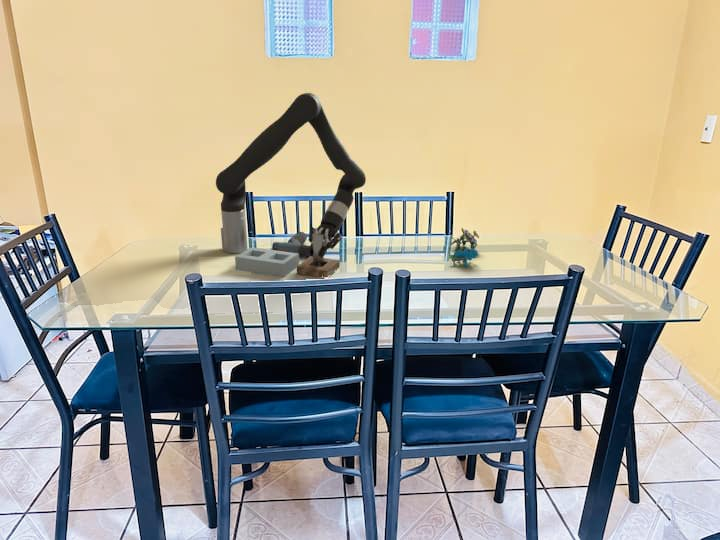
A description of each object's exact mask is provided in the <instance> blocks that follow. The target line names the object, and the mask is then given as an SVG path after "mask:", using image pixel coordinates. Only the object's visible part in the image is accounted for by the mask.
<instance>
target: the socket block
mask: <svg viewBox="0 0 720 540" xmlns="http://www.w3.org/2000/svg"><path fill="white" fill-rule="evenodd" d="M340 263H341V261H340V260H339V259H332V258H326V257H324V266H323V267H320V266H313V257H312V256H308V258H306V259H305V260H304V261H302V262H301V263H299V265H298V266H297V268H296V275H301V276H306V277H312V278H318V277H322V276H323V277H328V276H329V275H331V274H332V273H333V272H334V271H335V270H337V269H338V268H339V267H341V265H340ZM339 269H340V268H339ZM339 269H338V270H339ZM338 270H337V271H338ZM334 273H335V272H334ZM334 273H333V274H334ZM333 274H332V275H333ZM332 275H331V276H332Z"/></svg>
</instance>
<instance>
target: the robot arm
mask: <svg viewBox="0 0 720 540" xmlns="http://www.w3.org/2000/svg"><path fill="white" fill-rule="evenodd" d="M307 123H309V124H310V126H311V127H312V128H313V131H314V132H315V133H316V135H317V137H318V139H319V141H320V144H321V145H322V149H323V150H324V152H325V155H326V157H327V158H328V159H329V161H330V162H331V164H332V165H333V167H334V168H335V169H336V170H338V171H342V173H343V175H342V176H341V178H340V181H339V183H338V187H337V191H336V193H335V195H334V197H333V199H332V201H331V202H330V204H329V205H328V207H327V209H326V211H325V213H324V214H323V216H322V218H321V220H320V225H318V227H313V226H311V228H309V229H310V230H309V234H308V238H307V240H308V242H309V243H310V245H309V246H310V248H309V249H308V253H309V254H310V255H313V233H317V232H319V233H323V234H324V244H323V246H322V247H321V249H320V251H319V253H318V256H319V257H321V258H322V257H323V256H324V257H325V256H326V255H325V254H326V253H327V251H328V250H329V249H331V250H333V249H334V248H335V247H336V246H337V245H338V243H340V241H342V239H343V236H342V235H341V233H340V232H339V231H340V229H341V227H342V226H343V224H344V222H345V219H346V218H347V215H348V213H349V210H350V208H351V206H352V204H353V202H354V199H355V198H354V194H353V193H354V192H355V190H357V189H360V188H362V187H363V186H364V185H365V184H366V181H367V180H366V175H365V172H364V171H363V169H362V168H361V167H360V165H358V164H357V163H356V162H355V160H353V158H352V157H350V155H349V153H348V150H346V148H345V146H344V145H343V143H342V142H341V140H340V138H339V137H338V136H337V134H336V132H335V131H334V129H333V127H332V126H331V124H330V122H329V118H328V117H327V115H326V113H325V111H324V108H323V106H322V103H321V100H320V98H319V97H318V96H317V95H316V94H314V93H311V92H305V93H302V94H299V95H298V96H296V98H295V99H294V101H293V102H292V103H291V105H289V107H288V108H287V109H286V110H285V111H284V113H283V114H282V115H281V116H280V117H279V118H277V119H276V120H275V121H274V122H272V123H271V124H270V125H268V126H267V127H266V128H265V129H264V130H263V131H262V132H261V133H260V134H258V136H257V137H255V139H254V140H253V141H252V142H251V143H250V144H249V145H248V146H247V147H246V148H245V150H244V151H243V152H242V153H241V155H239V156H238V157H237V159H235V161H233V162H232V163H231V164H230V165H228V166H227V167H226V168H225V169H224V170H222V171H220V172H219V173H218V174H217V176H216V179H215V187H216V189H217V191H219V192H220V193H222V199H221V202H220V211H221V213H220V214H221V222H222V223H221V224H222V227H220V235H221V236H220V237H221V238H220V239H221V248H222V250H221V251H223V252H225V253H227V254H241V253H243V252H244V251H246V250H248V249H249V248H248V235H247V221H246V206H245V205H246V202H247V201H246V199H247V198H246V197H247V195H246V179H247V178H248V177H250V175H251V174H253V173H254V172H255V171H257V170H259V169H260V168H261V167H262V166H265V164H266V163H268V162H269V161H271V160H272V159H273V158H274V157H275V156H276V155H277V154H278V153H279V152H280V151H281V150H282V149H283V148H284V147H285V146H286V144H287V143H288V142H289V140H291V138H292V136H293V135H294V134H295V133H296V131H298V130H299V129H300V128H302V127H303V126H304V125H306V124H307Z"/></svg>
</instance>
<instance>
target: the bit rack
mask: <svg viewBox="0 0 720 540" xmlns="http://www.w3.org/2000/svg"><path fill="white" fill-rule="evenodd" d="M234 260H235V261H234V263H235V270H236V271H237V270H238V271H243V272H244V271H245V272H249V273H250V272H251V273H257V274H261V275H263V274H264V275H269V276H274V277H275V276H276V277H283V278H285V277H286V276H288V275H290V274H291V273H292V272H293V271H294V270H297V266H298V265H299V264H300V256H299V254H298V253H291V252H284V251H276V250H272V249H267V248H260V247H253V246H252V247H250V248H248V250H246V251H244V252H242V253H238V254H237V255H236V256H234Z"/></svg>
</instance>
